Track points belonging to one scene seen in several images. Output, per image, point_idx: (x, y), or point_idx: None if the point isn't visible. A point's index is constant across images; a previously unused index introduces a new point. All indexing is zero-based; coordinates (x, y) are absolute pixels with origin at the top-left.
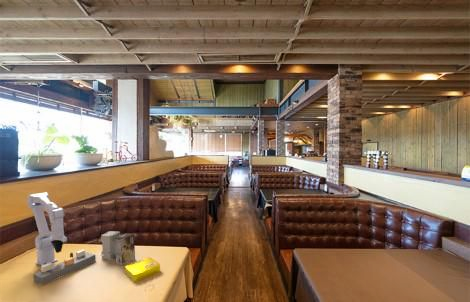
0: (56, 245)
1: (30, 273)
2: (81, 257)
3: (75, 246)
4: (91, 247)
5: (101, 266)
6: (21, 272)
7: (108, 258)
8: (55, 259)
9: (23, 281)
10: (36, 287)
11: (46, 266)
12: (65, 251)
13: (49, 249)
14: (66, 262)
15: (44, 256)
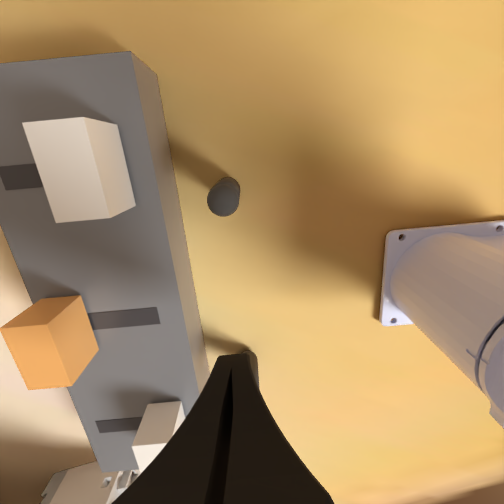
0: (147, 467)
1: (356, 122)
2: (140, 414)
3: (487, 454)
4: (360, 486)
5: (5, 412)
6: (460, 85)
7: (78, 470)
8: (404, 318)
9: (245, 20)
10: (10, 41)
11: (41, 158)
12: (480, 400)
13: (476, 352)
14: (18, 317)
15: (453, 275)
